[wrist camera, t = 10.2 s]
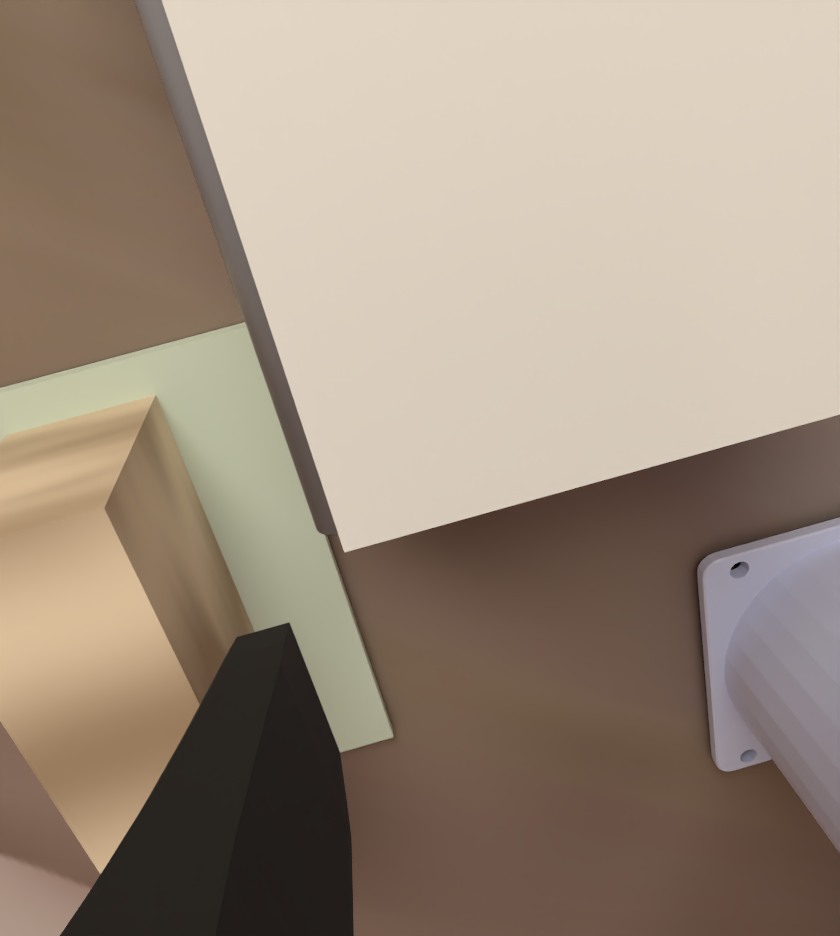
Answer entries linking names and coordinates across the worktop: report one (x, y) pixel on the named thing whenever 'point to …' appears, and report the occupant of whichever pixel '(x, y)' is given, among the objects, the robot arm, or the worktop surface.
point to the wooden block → (106, 610)
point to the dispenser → (516, 233)
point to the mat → (236, 499)
